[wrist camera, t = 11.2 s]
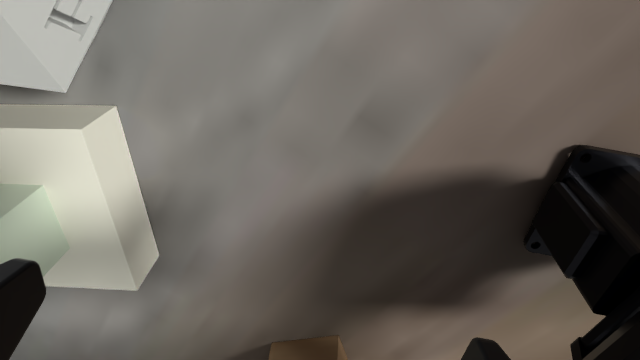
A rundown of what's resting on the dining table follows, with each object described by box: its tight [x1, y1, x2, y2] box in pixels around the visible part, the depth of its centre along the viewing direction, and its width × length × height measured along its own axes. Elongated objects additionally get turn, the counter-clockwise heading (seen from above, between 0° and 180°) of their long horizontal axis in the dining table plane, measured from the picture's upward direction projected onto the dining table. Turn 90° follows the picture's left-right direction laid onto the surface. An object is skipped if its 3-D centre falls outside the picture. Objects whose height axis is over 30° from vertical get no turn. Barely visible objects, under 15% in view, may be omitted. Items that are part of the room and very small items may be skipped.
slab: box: [0, 104, 159, 291], centre depth 22 cm, size 10×10×3 cm
